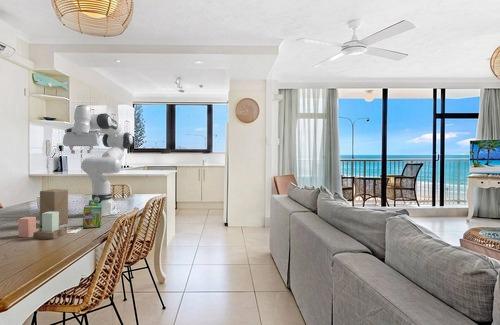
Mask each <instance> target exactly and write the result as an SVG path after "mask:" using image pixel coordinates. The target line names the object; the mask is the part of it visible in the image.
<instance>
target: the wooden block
mask: <svg viewBox="0 0 500 325" xmlns="http://www.w3.org/2000/svg"><path fill="white" fill-rule="evenodd" d="M49 211H51V212H59V226H62V225H65V224H69V190H68V189H58V188H52V189H46V190H40V191H39V226H41V227H42V213H45V212H49Z"/></svg>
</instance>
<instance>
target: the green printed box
mask: <svg viewBox="0 0 500 325" xmlns="http://www.w3.org/2000/svg"><path fill="white" fill-rule="evenodd" d="M92 202H95V203H96V204H94V205H93V204H91V203H92ZM82 215H83V216H82V217H83V218H82V227H83V229H86V228H90V229H91V228H101V227H102V223H103V222H102V220H103V219H102V218H103V216H102V205H98V200H92V199H90V200H89V201H88V204H87V205H86V204H85V206H84V207H83V214H82Z"/></svg>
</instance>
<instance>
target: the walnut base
mask: <svg viewBox="0 0 500 325" xmlns="http://www.w3.org/2000/svg"><path fill="white" fill-rule="evenodd" d="M67 234H68V233H67V227H59V229H58V230H55V231H53V232H43V231H42V229H40V230H36V232H34V233H33V239H34V240H56V239H57V238H60V237H64V235H67Z"/></svg>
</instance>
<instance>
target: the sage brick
mask: <svg viewBox="0 0 500 325" xmlns="http://www.w3.org/2000/svg"><path fill="white" fill-rule="evenodd" d="M59 228H60V225H59V212H51V211H49V212H45V213H42V226H41V230H42V231H43V232H53V231H55V230H58V229H59Z"/></svg>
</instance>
